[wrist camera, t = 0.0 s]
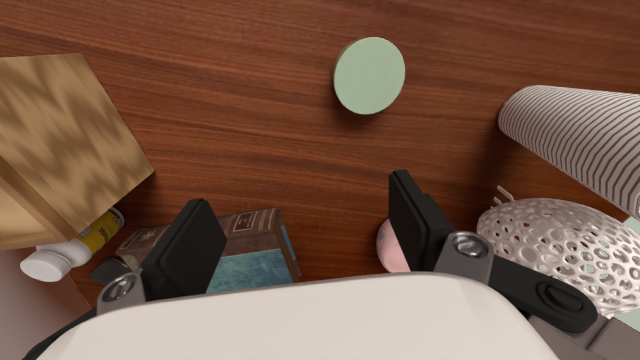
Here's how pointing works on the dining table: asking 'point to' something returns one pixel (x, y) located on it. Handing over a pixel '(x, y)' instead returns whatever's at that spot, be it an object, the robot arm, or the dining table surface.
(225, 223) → the book
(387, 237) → the mug
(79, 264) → the supplement bottle
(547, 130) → the cup
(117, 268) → the smartphone
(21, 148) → the open wooden box
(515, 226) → the decorative heart
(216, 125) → the dining table surface
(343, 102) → the disc
